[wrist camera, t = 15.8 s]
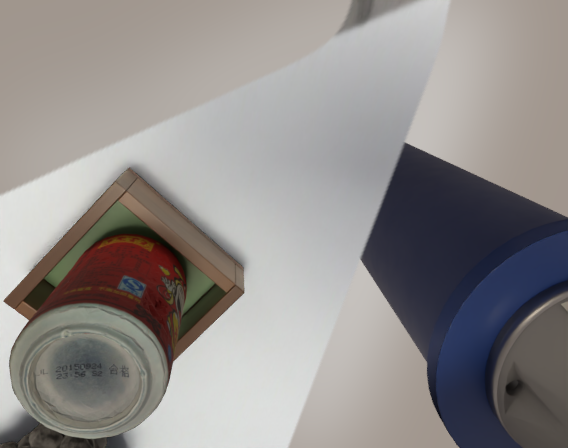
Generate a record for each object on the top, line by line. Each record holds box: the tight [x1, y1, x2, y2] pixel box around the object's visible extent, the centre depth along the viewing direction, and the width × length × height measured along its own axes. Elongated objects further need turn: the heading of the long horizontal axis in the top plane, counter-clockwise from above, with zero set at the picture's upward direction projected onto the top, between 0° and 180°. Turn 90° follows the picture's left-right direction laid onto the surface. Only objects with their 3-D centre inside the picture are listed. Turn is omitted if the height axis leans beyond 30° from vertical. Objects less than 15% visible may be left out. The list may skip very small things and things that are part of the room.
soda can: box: [9, 233, 187, 439], centre depth 28 cm, size 7×7×12 cm
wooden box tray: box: [4, 168, 244, 361], centre depth 33 cm, size 10×10×4 cm
